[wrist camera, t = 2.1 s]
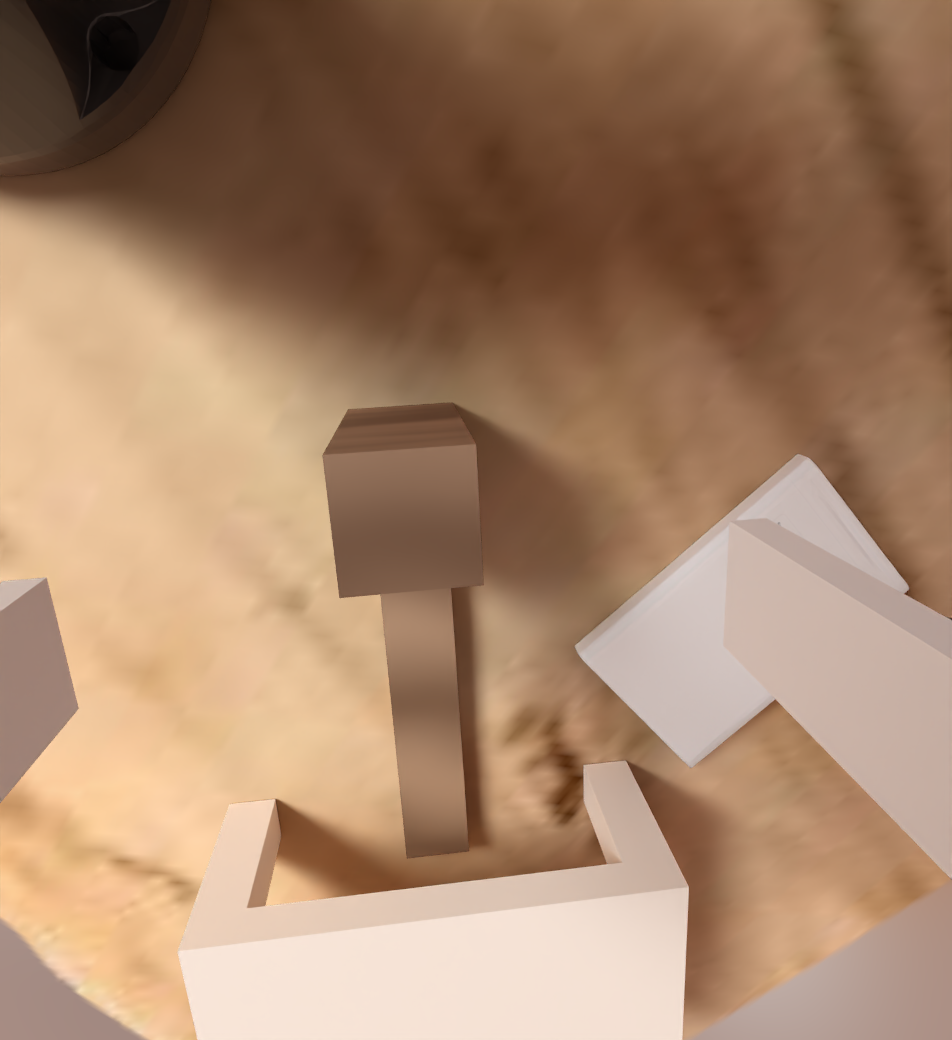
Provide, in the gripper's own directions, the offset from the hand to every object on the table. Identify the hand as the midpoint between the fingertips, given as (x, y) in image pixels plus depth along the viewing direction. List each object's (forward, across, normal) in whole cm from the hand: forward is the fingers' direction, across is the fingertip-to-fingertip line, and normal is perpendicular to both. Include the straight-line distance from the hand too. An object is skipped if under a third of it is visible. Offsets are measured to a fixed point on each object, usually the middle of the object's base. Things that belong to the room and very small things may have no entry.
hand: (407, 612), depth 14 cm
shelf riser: (+15, 0, -21) cm, 25 cm away
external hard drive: (+15, +14, -8) cm, 22 cm away
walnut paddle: (+15, 0, -8) cm, 16 cm away
